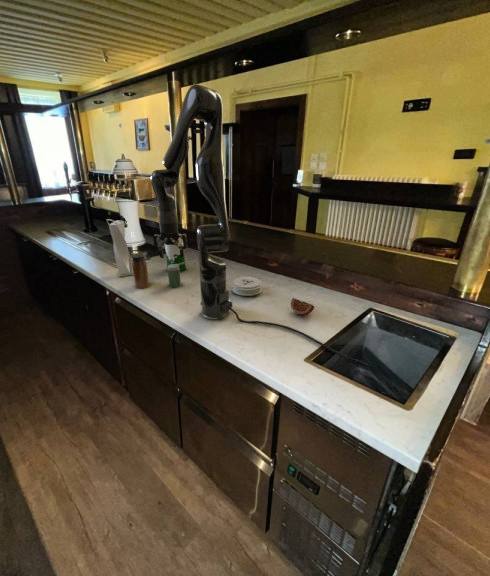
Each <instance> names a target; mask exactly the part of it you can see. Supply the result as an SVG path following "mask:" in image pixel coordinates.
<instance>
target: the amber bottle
mask: <svg viewBox="0 0 490 576" xmlns="http://www.w3.org/2000/svg"><path fill="white" fill-rule="evenodd" d="M131 259H132V269H133V275H132V276H133V282H134V287H135V288H136V289H147V288H148V287H149V286H150V279H149V271H148V264H147V260H146V259H145V254H144V253H135V254H133V255H131Z"/></svg>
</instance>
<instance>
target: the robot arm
mask: <svg viewBox="0 0 490 576" xmlns="http://www.w3.org/2000/svg"><path fill="white" fill-rule="evenodd" d="M223 108H224V107H223V99H222V95H221V94H220V92H219V91H217V90H215V89H213V88H210V87H208V86H205V85H202V84H198V83H194V84H192V85H190V87H189V88H188V89H187V91H186V93H185V96H184V99H183V102H182V104H181V108H180V111H179V115H178V118H177V122H176V126H175V129H174V133H173V136H172V138H171V141H170V144H169V146H168V148H167V150H166V152H165V154H164V156H163V160H162V165H163V166H164V168H162V169H155V170H153V171H152V172H151V175H150V185H151V187H152V190H153V192H154V195H155V198H156V200H157V209H158V224H159V232H160V234H157V233H155V234H154V235H153V238H152V239H153V249H154V250H157V251H158V255H159V258H160V259H164V258H165V255H164V249H163V248H164V247H165V244H166V245H174V244H175V245H176V246H177V247H178V248H179V249H180V258H183V256H184V257H185V250H186V249H187V248H188V245H189V244H188V238H187V234H186V233H183V234H181V235H179V234H180V233H179V225H178V223H179V222H178V214H177V208H176V197H175V195H173V194H171V193H168V192H167V189H169V188H173V187H175V186H176V185H177V183H178V181H179V177H180V173H181V168H182V166H183V164H184V162H185V161H186V159H187V157H188V154H189V151H190V150H189V149H190V140H189V130H190V128H191V125H192V123H193V122H194V120H196V121H201V122H204V126H205V127H204V128H205V137H204V141H203V144H202V147H201V148H200V151H199V153H198V155H197V157H196V160H195V177H196V178H195V179H196V185H197V187H198V189H199V191H200V192H201V194H202V196H203V197H204V198H205V200H206V201H207V202H208V203H209V204H210V206H211V208H212V209H213V211H214V214H215V216H216V219H217V223H214V224H201V225H198V226H197V228H196V243H197V251H198V264H199V265H198V266H199V267H198V268H199V283H200V285H199V286H200V300H201V301H200V306H201V316H202V317H203V318H205V319H207V320H213V321H214V320H218V321H221V320H223V319H224V318H225V317H227V315H229V314H230V312H232V313H233V314H234V315H235V317H236V319H237V321H239V322H240V323H245V324H261V325H267V326H268V325H269V326H275V327H279V328H283V329H286V330H289V331H292V332H295V333H297V334H299V335H302V336H303V337H306V338H307V339H309V340H311V341H313V342H314V343H316V344H318V345H320V346H322V347H323V348H325V349H327V350H328V351H330V352H332V353H334V354H335V355H338V356H340V357H342V358H343V359H344V358H345V359H347V360H349V361H352V362H354V363H357V364H360V365H362V366H365V367H369V363H368V362H364V361H361V360H359V359H356V358H353V357H351V356H348V355H346V354H343V353H341V352H339V351H337V350H335V349H333V348H332V347H330V346H329V345H327V344H324V343H323V342H321V341H319V340H317V339H316V338H314V337H312V336H311V335H308V334H306V333H305V332H302V331H300V330H297V329H296V328H293V327H289V326H288V325H287V326H286V325H283V324H279V323H275V322H268V321H261V320H243V319H241V318H240V317H239V314H238V313H237V312H236V311H235V310H234V309H233V301H231V300H230V291H229V290H228V289H227V264H226V261H224V260H222V259H220V258H216V257H213V256H211V255H210V254H212V253H223V252H228V251H229V249H230V247H231V234H230V227H229V217H228V209H227V201H226V199H227V198H226V177H225V164H224V150H223V111H224V110H223ZM179 238H181V239H182V240H183V245H184V246H182V244H181V243H180V241H179V240H178V239H179ZM159 240H161V244H159ZM209 253H210V254H209Z"/></svg>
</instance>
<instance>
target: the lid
mask: <svg viewBox="0 0 490 576" xmlns="http://www.w3.org/2000/svg"><path fill="white" fill-rule="evenodd" d="M231 286H232V287H231V291H232V292H233V293H234V294H236V295H239V296H245V297H247V296H248V297H250V296H251V297H252V296H255V295H259V294H261V293H262V291H263V282H262V281H261V280H260V279H259V278H257V277H253V276H241V277H238V278H236V279H234V280H233V281H232V282H231Z"/></svg>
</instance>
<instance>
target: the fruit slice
mask: <svg viewBox="0 0 490 576" xmlns="http://www.w3.org/2000/svg"><path fill="white" fill-rule="evenodd" d="M290 307H291V309H292V311H293V312H294V313H295V314H297V315H299V316H307V315H309V314H311V313H312V312H313V311H314V310H315V306H314V305H313V304H312V303H309V302H306V301H304V300H300V299H297V298H295V297H292V299H291V300H290Z"/></svg>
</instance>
